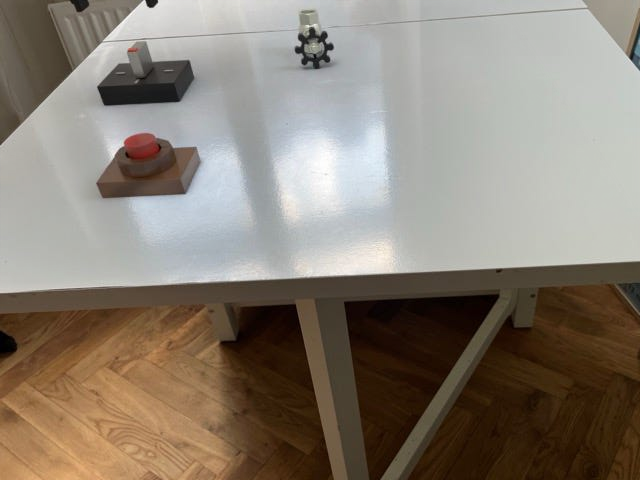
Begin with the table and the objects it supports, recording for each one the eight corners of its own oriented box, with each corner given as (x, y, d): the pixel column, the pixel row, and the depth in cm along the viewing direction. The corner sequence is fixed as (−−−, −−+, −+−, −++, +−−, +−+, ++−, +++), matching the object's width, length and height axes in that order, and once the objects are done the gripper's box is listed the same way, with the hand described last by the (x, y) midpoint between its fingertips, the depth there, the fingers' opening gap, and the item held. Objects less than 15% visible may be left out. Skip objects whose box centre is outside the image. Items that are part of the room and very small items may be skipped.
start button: (124, 161, 65) (119, 147, 64) (134, 146, 68) (129, 133, 67) (154, 159, 65) (150, 146, 64) (163, 145, 68) (158, 132, 67)
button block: (102, 199, 66) (89, 169, 63) (124, 165, 72) (113, 137, 69) (185, 195, 66) (176, 165, 63) (201, 161, 72) (192, 133, 69)
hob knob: (144, 66, 91) (135, 39, 88) (154, 66, 91) (145, 39, 88) (135, 78, 87) (125, 50, 84) (145, 77, 87) (136, 50, 84)
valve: (294, 48, 103) (297, 71, 95) (288, 9, 99) (291, 30, 90) (329, 44, 104) (335, 67, 95) (325, 6, 100) (331, 26, 91)
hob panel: (103, 105, 87) (96, 85, 85) (124, 81, 95) (118, 62, 92) (179, 101, 87) (173, 81, 85) (194, 77, 94) (189, 58, 92)
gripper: (148, -156, 68) (186, -4, 79) (7, -148, 68) (66, 3, 79) (130, -152, 63) (174, 11, 74) (-24, -143, 62) (44, 19, 74)
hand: (118, 7), depth 77 cm, fingers open, 9 cm apart
